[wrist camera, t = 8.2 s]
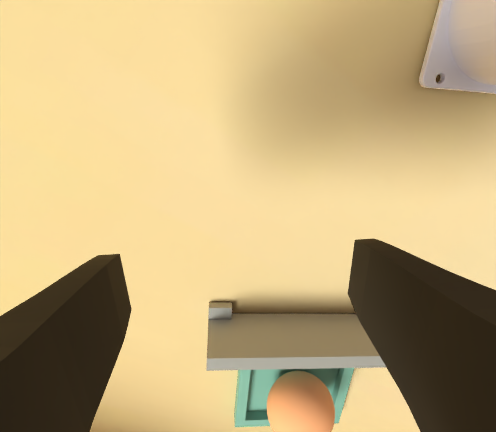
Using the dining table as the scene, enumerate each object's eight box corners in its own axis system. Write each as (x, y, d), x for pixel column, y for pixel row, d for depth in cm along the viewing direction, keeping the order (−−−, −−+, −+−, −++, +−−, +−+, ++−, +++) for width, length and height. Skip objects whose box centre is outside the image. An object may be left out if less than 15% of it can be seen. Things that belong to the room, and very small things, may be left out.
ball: (321, 351, 25) (348, 411, 20) (320, 395, 27) (344, 459, 22) (260, 361, 24) (272, 424, 20) (262, 405, 26) (275, 472, 22)
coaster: (355, 333, 25) (361, 344, 24) (334, 410, 28) (338, 423, 27) (241, 334, 24) (242, 345, 23) (234, 414, 27) (234, 427, 26)
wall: (394, 303, 24) (427, 343, 20) (385, 333, 25) (413, 377, 21) (209, 302, 22) (207, 346, 18) (208, 334, 23) (206, 382, 20)
